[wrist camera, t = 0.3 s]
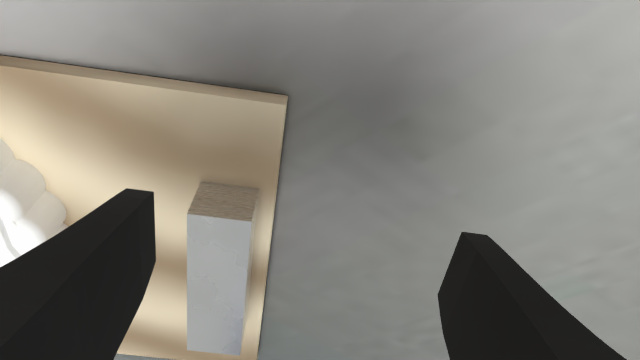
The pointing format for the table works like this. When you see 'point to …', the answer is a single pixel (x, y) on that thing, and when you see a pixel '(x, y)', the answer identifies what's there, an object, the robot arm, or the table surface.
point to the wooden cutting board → (163, 188)
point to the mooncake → (25, 207)
